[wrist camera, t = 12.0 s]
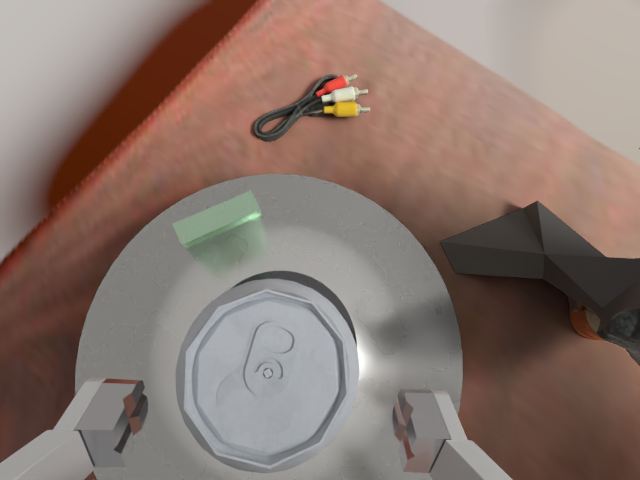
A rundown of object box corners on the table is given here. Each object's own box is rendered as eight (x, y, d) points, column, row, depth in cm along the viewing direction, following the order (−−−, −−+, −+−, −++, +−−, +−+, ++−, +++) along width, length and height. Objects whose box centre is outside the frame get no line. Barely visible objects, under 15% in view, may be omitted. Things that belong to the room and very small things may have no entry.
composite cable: (259, 149, 28) (256, 132, 26) (244, 100, 29) (240, 80, 27) (369, 122, 30) (376, 104, 28) (350, 77, 31) (356, 56, 29)
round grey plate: (343, 158, 28) (355, 118, 23) (491, 416, 24) (548, 440, 19) (69, 275, 24) (8, 259, 19) (192, 617, 20) (159, 720, 15)
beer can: (224, 381, 19) (127, 459, 7) (250, 297, 20) (203, 251, 9) (308, 404, 19) (342, 515, 7) (329, 318, 20) (385, 300, 9)
